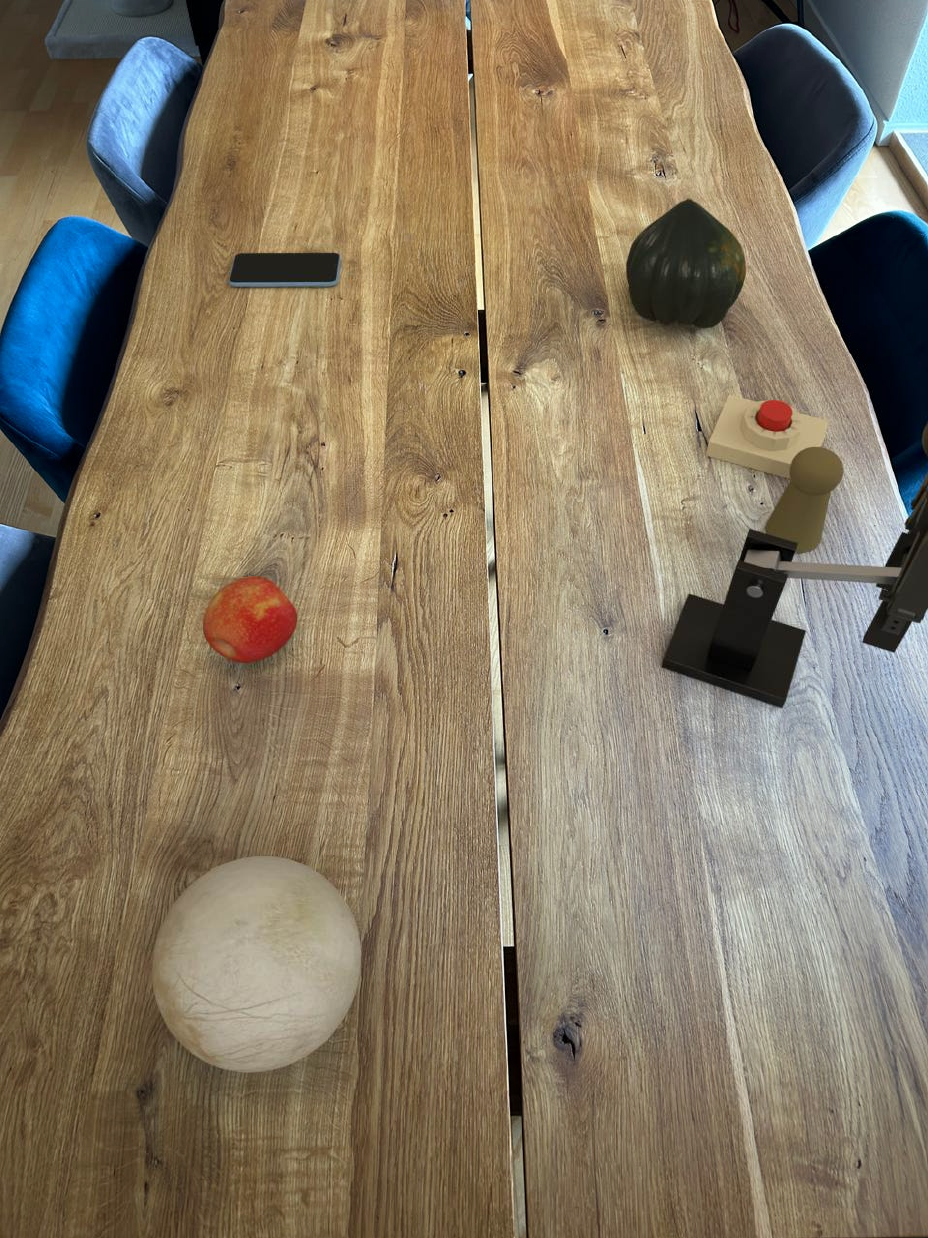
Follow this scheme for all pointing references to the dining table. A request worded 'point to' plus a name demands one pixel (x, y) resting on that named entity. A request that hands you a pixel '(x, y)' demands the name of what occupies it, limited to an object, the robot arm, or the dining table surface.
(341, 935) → the decorative sphere
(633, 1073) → the dining table surface
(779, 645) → the bracket
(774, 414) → the button
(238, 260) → the smartphone
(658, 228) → the squash
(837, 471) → the olive game pawn
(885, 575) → the lever
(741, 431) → the control block
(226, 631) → the apple
